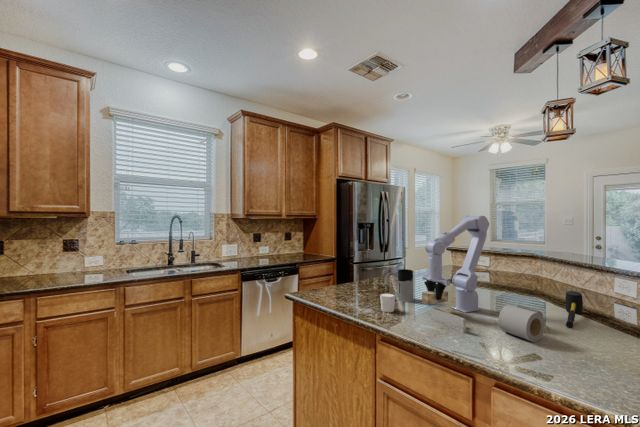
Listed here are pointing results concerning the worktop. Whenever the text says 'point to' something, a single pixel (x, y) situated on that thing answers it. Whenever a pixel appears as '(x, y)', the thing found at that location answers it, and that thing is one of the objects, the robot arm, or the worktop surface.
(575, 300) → the mallet
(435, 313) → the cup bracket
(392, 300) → the shot glass
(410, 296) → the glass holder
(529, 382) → the worktop surface
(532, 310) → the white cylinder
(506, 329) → the toilet paper
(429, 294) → the maple rail
